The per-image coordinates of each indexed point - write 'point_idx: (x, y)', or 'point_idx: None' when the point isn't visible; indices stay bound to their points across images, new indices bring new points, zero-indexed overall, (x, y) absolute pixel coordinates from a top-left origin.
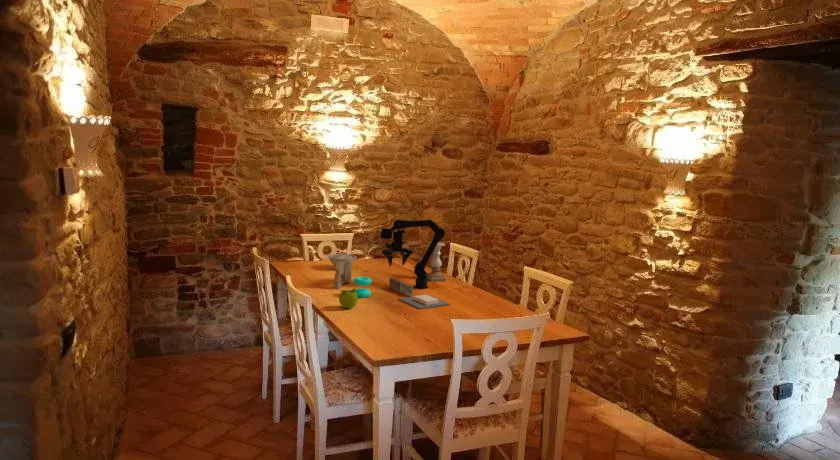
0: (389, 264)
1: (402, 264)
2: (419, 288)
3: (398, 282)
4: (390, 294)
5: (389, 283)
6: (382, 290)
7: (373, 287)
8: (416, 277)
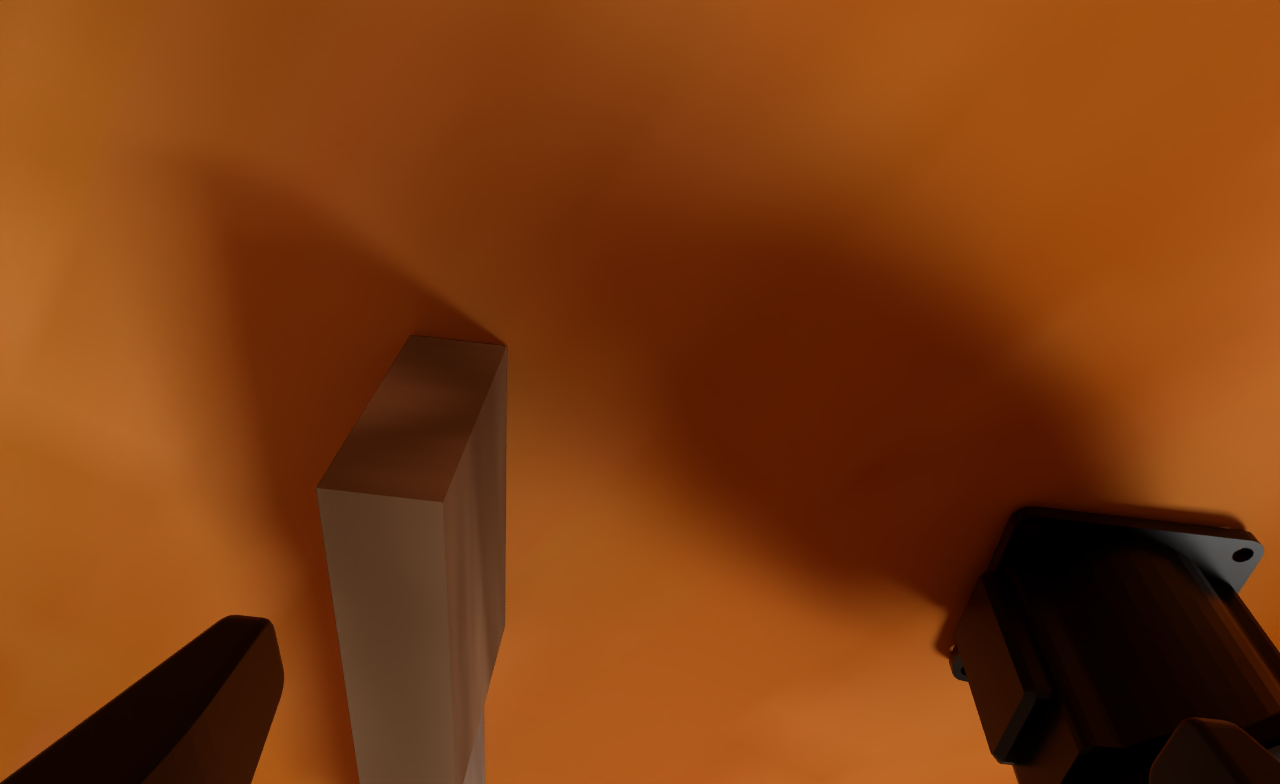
0: (153, 702)
1: (1193, 742)
2: (953, 654)
3: (364, 778)
4: None
5: (371, 401)
6: (181, 397)
7: (45, 68)
8: (1078, 752)
